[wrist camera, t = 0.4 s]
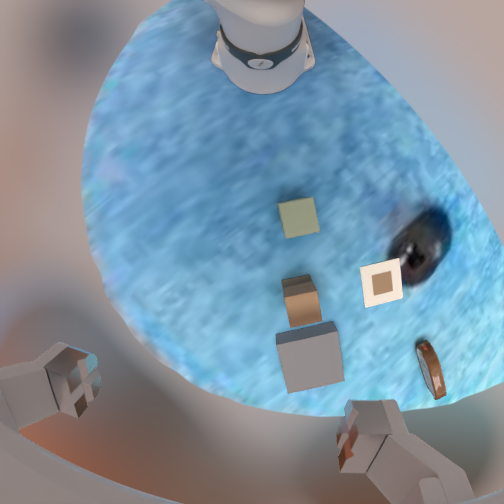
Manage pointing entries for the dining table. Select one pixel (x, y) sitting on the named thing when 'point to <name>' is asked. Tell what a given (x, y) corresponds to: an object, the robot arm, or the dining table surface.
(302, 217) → the olive block
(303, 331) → the base block
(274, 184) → the dining table surface
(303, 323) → the walnut block
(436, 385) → the tin
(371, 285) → the card
